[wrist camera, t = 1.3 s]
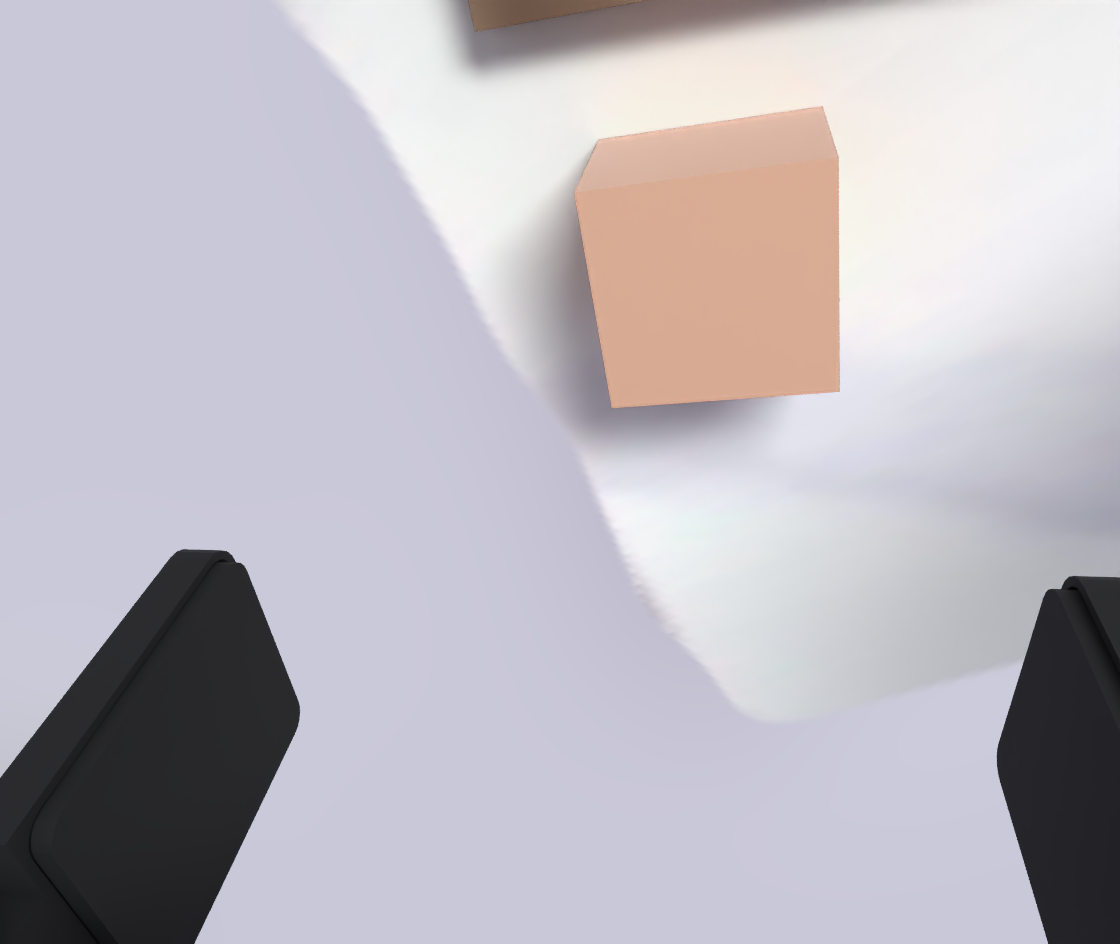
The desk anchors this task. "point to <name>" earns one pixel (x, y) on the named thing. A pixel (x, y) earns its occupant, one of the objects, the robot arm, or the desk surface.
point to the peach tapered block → (715, 259)
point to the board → (530, 10)
